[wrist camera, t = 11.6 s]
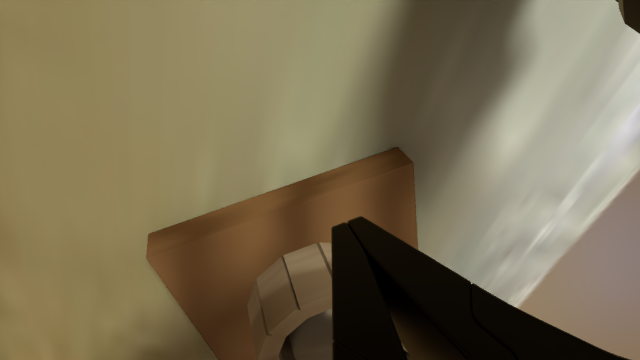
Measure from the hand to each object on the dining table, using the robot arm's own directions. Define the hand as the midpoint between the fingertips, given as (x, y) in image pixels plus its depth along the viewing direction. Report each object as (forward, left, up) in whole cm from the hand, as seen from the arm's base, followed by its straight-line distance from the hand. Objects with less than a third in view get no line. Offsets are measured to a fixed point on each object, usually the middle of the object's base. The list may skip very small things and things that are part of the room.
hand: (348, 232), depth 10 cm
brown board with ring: (+1, +15, -12) cm, 19 cm away
